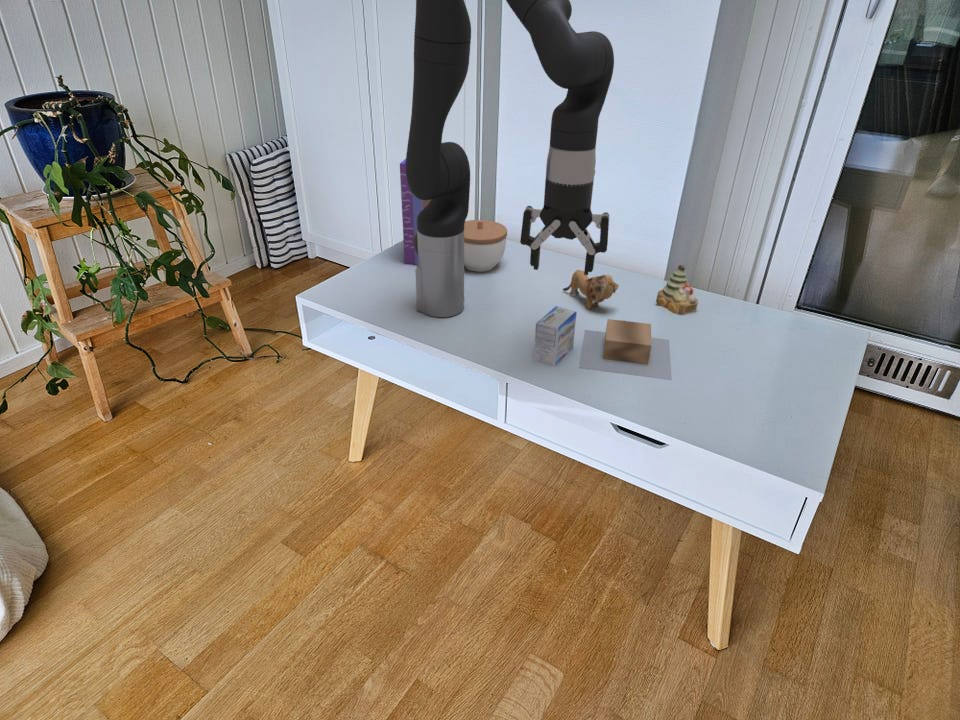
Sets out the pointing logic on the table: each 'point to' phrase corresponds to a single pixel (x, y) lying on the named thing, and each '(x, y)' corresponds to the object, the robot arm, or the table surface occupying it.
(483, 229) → the lidded bowl
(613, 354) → the base brick
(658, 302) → the ornament
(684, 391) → the table surface
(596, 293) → the lion figurine
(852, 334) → the table surface
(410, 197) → the cereal box
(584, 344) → the plate
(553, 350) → the medicine box
